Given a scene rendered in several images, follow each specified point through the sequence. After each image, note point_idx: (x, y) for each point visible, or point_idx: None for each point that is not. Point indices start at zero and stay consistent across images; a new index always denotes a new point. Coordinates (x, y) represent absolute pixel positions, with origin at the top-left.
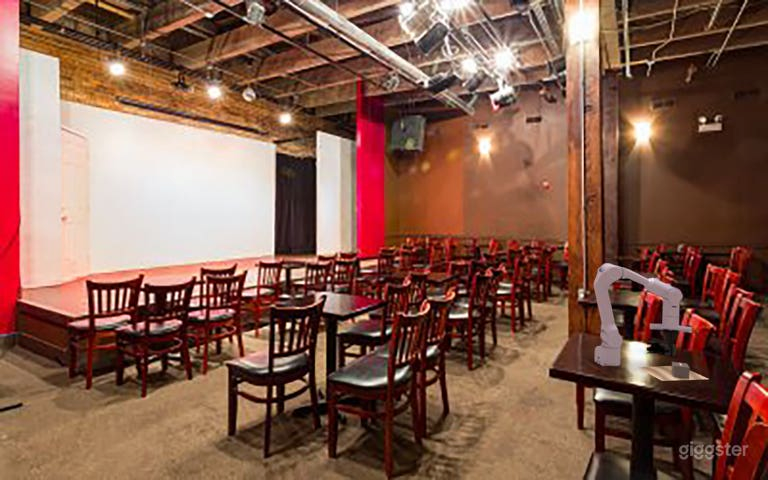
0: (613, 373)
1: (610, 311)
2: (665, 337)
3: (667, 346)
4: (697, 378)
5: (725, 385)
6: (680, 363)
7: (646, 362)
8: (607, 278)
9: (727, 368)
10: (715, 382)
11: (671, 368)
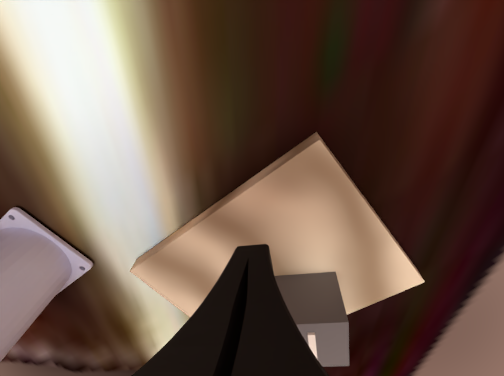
0: (86, 316)
1: None
2: (193, 323)
3: (235, 251)
4: (373, 294)
5: (482, 266)
6: (313, 340)
7: (134, 93)
8: None
9: None
10: (451, 249)
11: (273, 215)
